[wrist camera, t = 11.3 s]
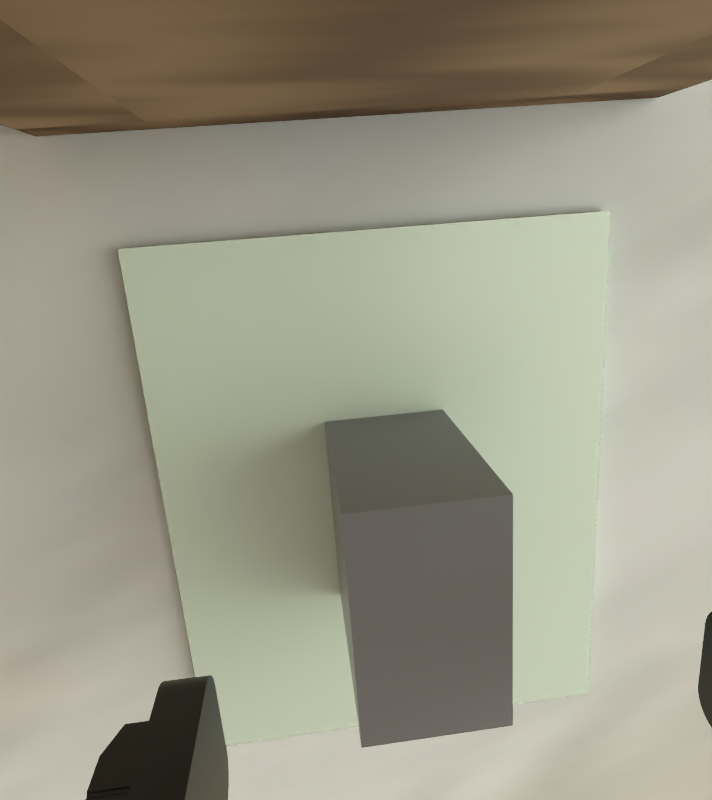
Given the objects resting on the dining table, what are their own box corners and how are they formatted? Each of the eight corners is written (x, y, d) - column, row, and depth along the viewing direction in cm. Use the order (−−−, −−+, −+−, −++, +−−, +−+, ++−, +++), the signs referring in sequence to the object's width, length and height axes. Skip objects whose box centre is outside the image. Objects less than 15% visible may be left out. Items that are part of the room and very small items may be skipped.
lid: (591, 211, 15) (772, 204, 10) (573, 669, 19) (694, 858, 14) (128, 247, 14) (22, 263, 9) (212, 721, 18) (177, 946, 13)
